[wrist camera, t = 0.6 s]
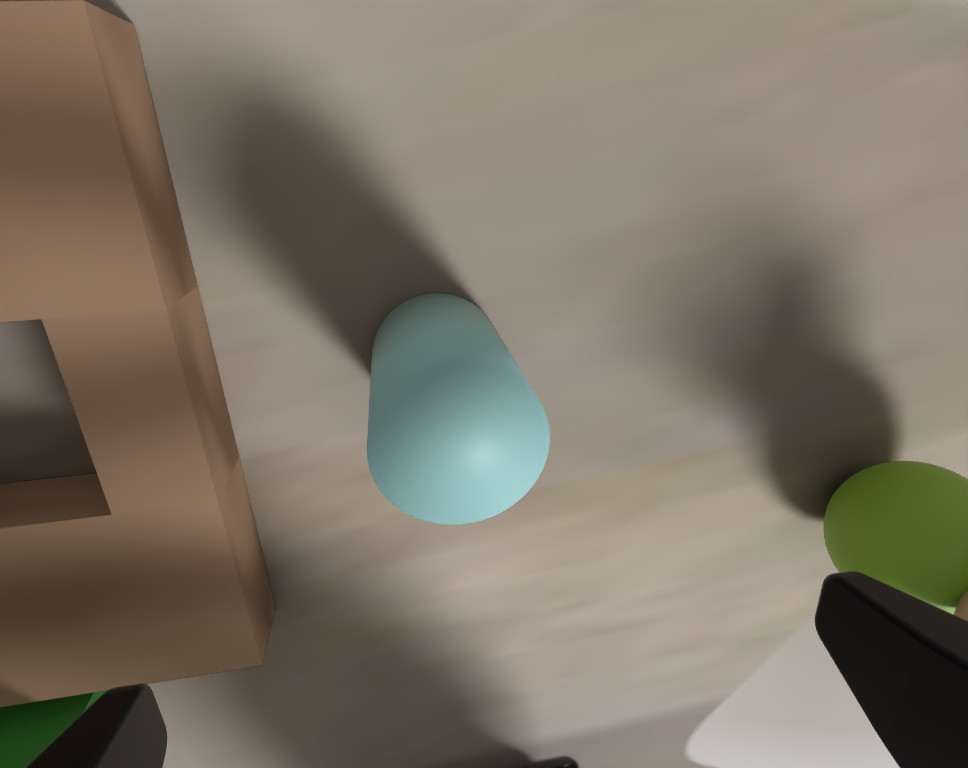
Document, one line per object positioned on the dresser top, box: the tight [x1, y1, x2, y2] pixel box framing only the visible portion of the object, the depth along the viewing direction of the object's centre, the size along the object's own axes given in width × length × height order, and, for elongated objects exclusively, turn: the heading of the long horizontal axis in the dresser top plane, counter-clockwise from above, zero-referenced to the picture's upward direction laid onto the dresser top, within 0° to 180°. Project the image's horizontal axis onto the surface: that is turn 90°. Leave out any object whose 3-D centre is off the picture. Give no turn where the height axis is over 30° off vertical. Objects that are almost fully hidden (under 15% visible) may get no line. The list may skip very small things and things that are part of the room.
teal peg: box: [367, 293, 550, 525], centre depth 15 cm, size 4×4×6 cm
